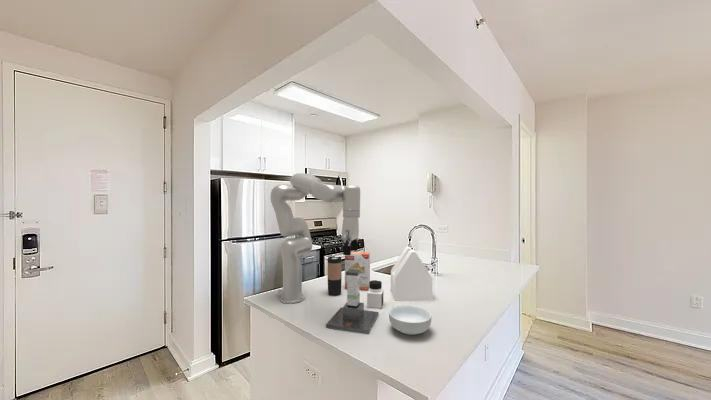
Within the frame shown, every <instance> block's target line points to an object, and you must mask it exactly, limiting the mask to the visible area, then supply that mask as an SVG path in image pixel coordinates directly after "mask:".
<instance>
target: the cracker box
mask: <svg viewBox="0 0 711 400" xmlns="http://www.w3.org/2000/svg"><path fill="white" fill-rule="evenodd" d="M349 269H356V270H361V273H360V291H368V290H369V282H370V281H371V252H365V251H351V255H344V290H347V275H346V272H347V271H348V270H349Z"/></svg>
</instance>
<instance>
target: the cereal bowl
mask: <svg viewBox="0 0 711 400" xmlns="http://www.w3.org/2000/svg"><path fill="white" fill-rule="evenodd" d="M388 311H389V312H388V318H389V319H388V320H389V322H390V324H391V326H392V327H393V328H394V329H395V330H397V331H399V332H401V333H403V334H405V335H409V336H414V335H418V334H422V333H425V332H426V331H428V330H429V328H430V326H431V323H432V319H433V318H432V314H431V312H430V311H429V310H428V309H425V308H423V307H420V306H416V305H410V304H405V305H404V304H402V305H396V306H394V307H391V308H389V310H388Z"/></svg>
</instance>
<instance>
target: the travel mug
mask: <svg viewBox="0 0 711 400" xmlns="http://www.w3.org/2000/svg"><path fill="white" fill-rule="evenodd" d="M342 273H343V272H342V256H335V255H331V256H328V257H327V295H328V296H331V297H338V296H341V295H342V282H343V281H342V280H343V279H342V277H343V276H342V275H343V274H342Z"/></svg>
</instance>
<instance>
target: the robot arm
mask: <svg viewBox="0 0 711 400" xmlns="http://www.w3.org/2000/svg"><path fill="white" fill-rule="evenodd" d="M289 183H290V184H285V183H284V184H283V183H282V184H278V185H275V186H274V187H273V188H272V189H271V192H270V202H271V206H272V208H273V210H274V213H275V216H276V217H275V218H276V223H277V225H278V230H279V234H280V235H281V236H282V237H293V238H288V239H285V240H283V241H282V243H281V244H280V254H281V259H282V289H277V292H276V295H280V297H279V300H280V302H281V303H282V304H297V303H300V302H302V301H304V300H306V299H305V298H306V297H305V294H303V290H302V288H303V283H302V280H303V278H302V277H303V276H302V274H303V273H302V271H303V270H302V268H303V266H302V262H301V260H300V258H299V256H304V255H307V254H309V253H310V252H312V251H313V242H312V236H311V232H310V228H309V225H308V223H307V221H306V220H305V219H304V218H303V217H294V214H293V210H292V208H291V206H290V205H289V204H288V202H287V201H292V202H293V201H301V200H303V199H304V198H306V196H308V195H311V196H312V197H313V198H314V199H317V200H320V201H323V202H327V203H341V202H342V218H343V220H342V225H341V227H342V228H341V240H342V243H343V244H342V248H343V250H342V254H343V256H345V255H351V252H359V251H358V250H359V236H360V235H359V232H360V228H359V227H360V225H359V223H360V222H359V218H361V188H360V186H359V185H341V184H340V185H338V184H328V183H327V184H326V183H323V181H322V180H321V179H320V178H319V177H316V176H315V175H314V174H311V173H302V172H301V173H299V172H298V173H294V174H293V175H292V176H291V177H290V181H289ZM294 236H296V237H294Z"/></svg>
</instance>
